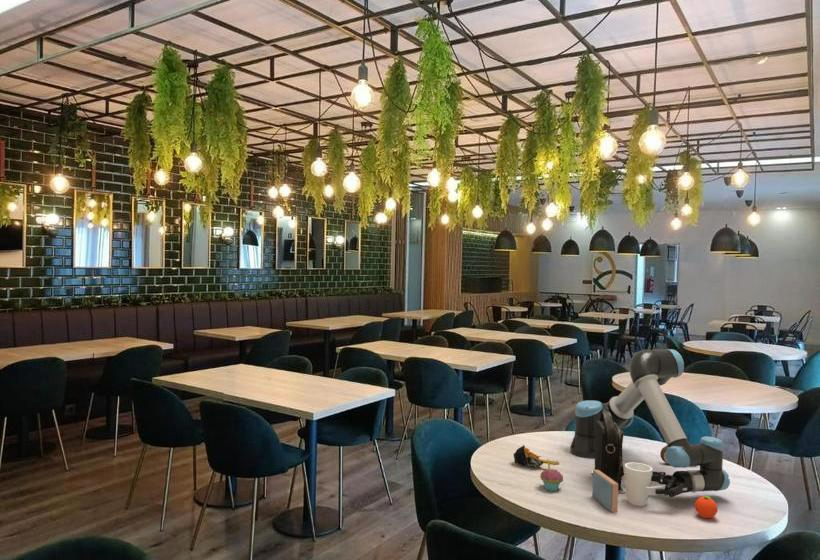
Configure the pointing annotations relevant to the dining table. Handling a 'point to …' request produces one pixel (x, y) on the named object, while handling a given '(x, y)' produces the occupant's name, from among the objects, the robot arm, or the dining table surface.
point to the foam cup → (637, 482)
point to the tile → (605, 490)
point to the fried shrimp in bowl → (530, 458)
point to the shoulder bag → (609, 449)
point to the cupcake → (551, 478)
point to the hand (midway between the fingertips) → (635, 483)
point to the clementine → (706, 507)
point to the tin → (664, 454)
